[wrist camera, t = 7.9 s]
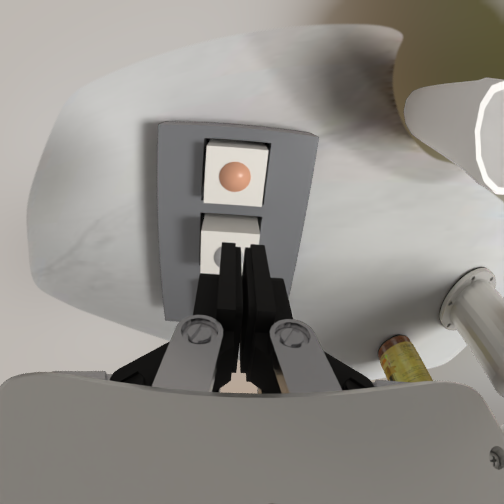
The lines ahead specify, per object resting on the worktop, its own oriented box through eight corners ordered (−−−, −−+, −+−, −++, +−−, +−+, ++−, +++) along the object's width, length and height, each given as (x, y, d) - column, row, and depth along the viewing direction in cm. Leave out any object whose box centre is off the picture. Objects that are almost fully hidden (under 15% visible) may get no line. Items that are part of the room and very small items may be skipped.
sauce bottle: (370, 348, 43) (412, 455, 26) (402, 327, 41) (456, 430, 24) (384, 363, 46) (422, 459, 29) (413, 344, 44) (460, 437, 27)
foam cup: (376, 100, 25) (457, 115, 14) (430, 60, 23) (516, 62, 11) (418, 170, 29) (493, 216, 18) (465, 128, 26) (544, 158, 15)
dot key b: (264, 142, 27) (268, 150, 23) (258, 192, 29) (261, 207, 26) (210, 138, 26) (206, 145, 23) (207, 188, 29) (203, 203, 25)
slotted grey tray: (310, 132, 27) (319, 137, 24) (278, 310, 38) (282, 326, 35) (165, 121, 26) (158, 124, 23) (169, 304, 36) (165, 320, 34)
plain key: (256, 216, 29) (260, 234, 25) (251, 260, 31) (253, 282, 28) (205, 212, 28) (201, 230, 25) (203, 257, 31) (200, 279, 27)
